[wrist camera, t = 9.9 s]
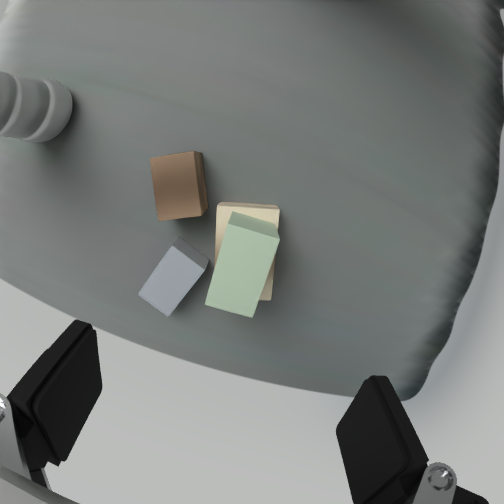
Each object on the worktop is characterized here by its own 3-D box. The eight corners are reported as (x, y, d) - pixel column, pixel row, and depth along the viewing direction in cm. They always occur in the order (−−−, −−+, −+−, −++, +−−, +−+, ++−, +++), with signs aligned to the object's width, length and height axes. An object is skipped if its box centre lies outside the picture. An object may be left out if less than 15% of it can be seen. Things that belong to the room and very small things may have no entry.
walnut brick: (164, 158, 25) (150, 158, 21) (202, 152, 25) (193, 151, 21) (171, 212, 26) (158, 221, 22) (208, 207, 26) (201, 215, 22)
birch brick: (220, 201, 26) (217, 205, 23) (276, 204, 26) (279, 209, 23) (217, 283, 28) (214, 297, 26) (268, 286, 29) (270, 300, 26)
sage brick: (232, 210, 23) (227, 223, 19) (274, 223, 24) (280, 239, 19) (213, 277, 25) (204, 304, 20) (252, 289, 25) (252, 317, 21)
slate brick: (179, 236, 27) (172, 245, 24) (209, 258, 28) (205, 270, 25) (147, 281, 28) (137, 294, 25) (175, 302, 29) (168, 316, 26)
